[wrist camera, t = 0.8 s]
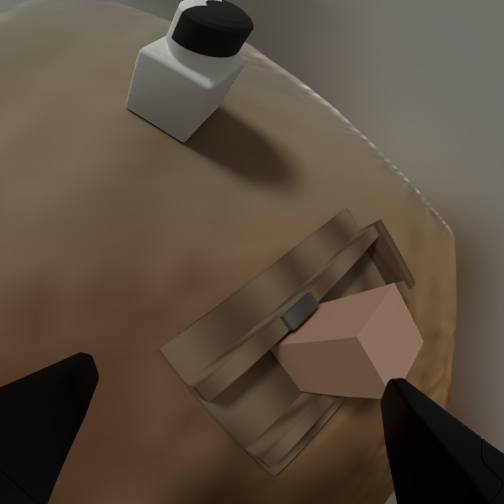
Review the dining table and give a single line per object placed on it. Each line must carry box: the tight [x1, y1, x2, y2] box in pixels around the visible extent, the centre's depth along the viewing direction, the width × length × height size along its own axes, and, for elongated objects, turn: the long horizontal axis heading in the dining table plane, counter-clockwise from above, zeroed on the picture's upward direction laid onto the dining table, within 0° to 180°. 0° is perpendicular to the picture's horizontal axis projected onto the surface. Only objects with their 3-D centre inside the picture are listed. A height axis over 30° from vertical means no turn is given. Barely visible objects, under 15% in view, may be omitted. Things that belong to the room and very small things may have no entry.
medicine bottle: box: [126, 0, 253, 142], centre depth 20 cm, size 7×7×12 cm
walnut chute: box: [158, 208, 415, 477], centre depth 23 cm, size 24×14×4 cm, turn 129°
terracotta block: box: [270, 283, 423, 399], centre depth 18 cm, size 5×5×9 cm
